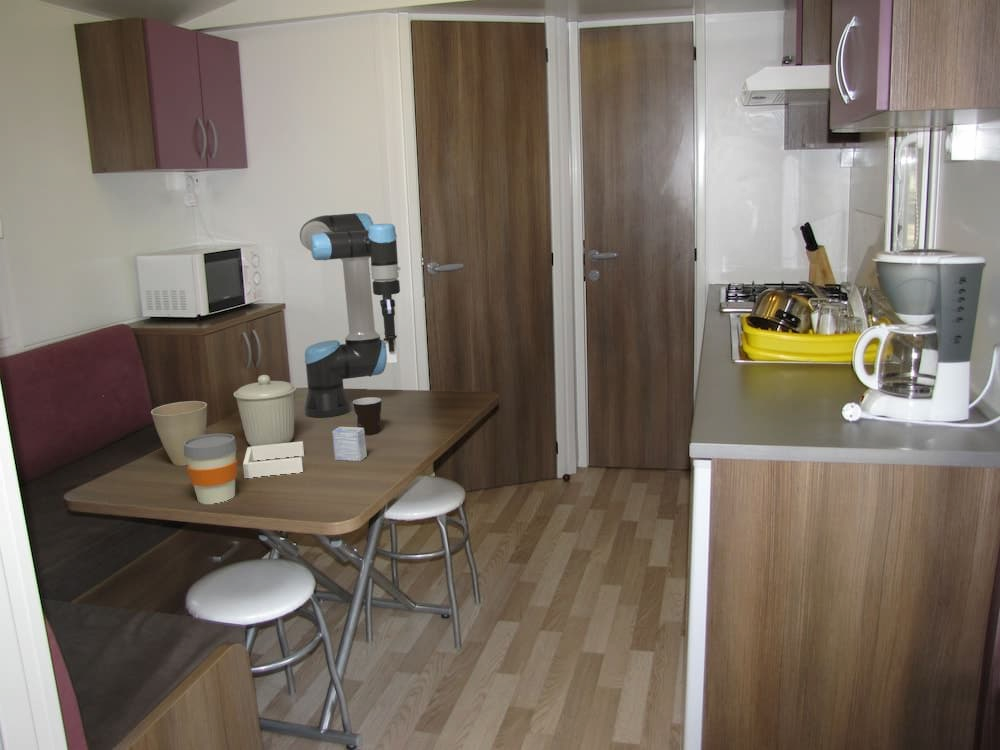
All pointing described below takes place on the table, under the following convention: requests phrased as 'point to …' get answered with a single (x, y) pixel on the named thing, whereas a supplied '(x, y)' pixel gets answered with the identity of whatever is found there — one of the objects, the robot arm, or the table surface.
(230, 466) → the reusable coffee cup
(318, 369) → the robot arm
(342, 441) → the medicine box
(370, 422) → the coffee mug
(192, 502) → the table surface
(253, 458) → the shallow white tray
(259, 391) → the canister
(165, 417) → the plant pot
